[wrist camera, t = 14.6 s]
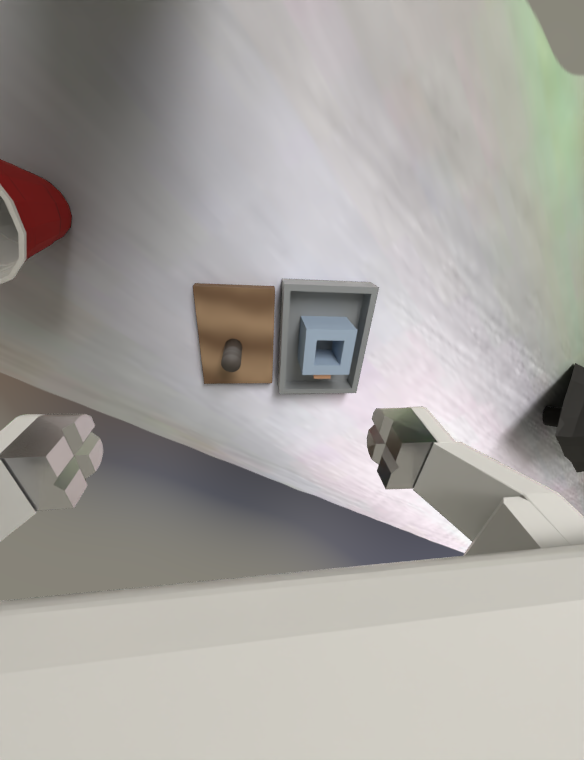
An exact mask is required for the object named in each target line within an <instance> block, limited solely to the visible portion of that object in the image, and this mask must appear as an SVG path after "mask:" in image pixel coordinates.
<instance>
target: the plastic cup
mask: <svg viewBox="0 0 584 760" xmlns="http://www.w3.org/2000/svg"><path fill="white" fill-rule="evenodd" d="M71 219H72V215H71V212H70V208H69V205H68V203H67V201H66V200H65V198H64V197H63V195H62V194H61V192H60V191H59V190H57V189H56V188H55V187H54V186H53V185H52V184H51V183H50V182H48V181H47V180H45V179H43V178H41V177H39V176H37V175H35V174H33V173H30V172H28V171H25V170H23V169H21V168H19V167H17V166H15V165H13V164H11V163H8V162H6V161H3V160H1V159H0V284H2V283H5V282H7V281H10V280H12V279H14V277H15V276H16V275H17V273H18V271H19V270H20V268H21V267H22V265H23V264H24V262H25V261H26V260H27V259H28V258H29V257H31V256H33V255H34V254H36V253H38V252H39V251H41V250H43V249H45V248H46V247H48V246H50V245H51V244H53V243H54V241H56V240H58V239H60V238H62V237H63V236H64V235H65V234H66V232H67V231H68V230H69V228H70V227H71Z"/></svg>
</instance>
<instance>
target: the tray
mask: <svg viewBox="0 0 584 760" xmlns="http://www.w3.org/2000/svg"><path fill="white" fill-rule="evenodd" d="M378 290H379V287H377V286H376V285H374V284H373V283H371V282H353V281H328V280H304V279H282V294H281V318H280V341H279V365H278V389H279V394H308V393H356V391H357V386H358V382H359V377H360V372H361V368H362V363H363V359H364V354H365V349H366V345H367V340H368V336H369V331H370V326H371V322H372V317H373V313H374V308H375V303H376V299H377V294H378ZM301 316H327V317H347V318H348V319H349V321H350V322H351V323H352V324H353V325H354V327H355V328H356V329H357V335H356V341H355V346H354V351H353V356H352V361H351V366H350V372H349V375H331V378H330V379H314V377H313V375H302V372H301V369H300V365H299V362H298V358H297V357H298V344H299V332H300V319H301ZM332 343H333V341H332V340H317V344H316V349H330V350H332Z"/></svg>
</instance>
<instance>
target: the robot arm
mask: <svg viewBox="0 0 584 760" xmlns="http://www.w3.org/2000/svg"><path fill="white" fill-rule="evenodd" d="M372 420H373V422H374V424H375V425H373V426H372V427H371V428H370V429H369V431H368V435H367V448H368V452H369V455H370V457H371V459H372V460H373V461H374V462H376V463H377V464H379V466H378V469H377V472H378V474H379V476H380V478H381V480H382V482H383V485H384V487H385V489H411V488H414V489H413V490H414V491H415V492H416V493H417V494H418V495H420V496H421V497H422V498H423V499H424V500H425V501H426V502H428V503H429V504H430V505H431V506H432V507H433V508H434V509H436V510H437V511H438V512H439V513H440V514H441V515H442V516H444V517H445V518H446V519H447V520H448V521H449V522H450V523H452V524H453V525H454V526H455V527H456V528H457V529H458V530H460V531H461V532H462V533H463V534H464V535H465V536H466V537H468V538H469V539H470V540H471V541H472V543H471V545H470V546H469V547H468V549H467V550H466V552H465V553H464V556H458V557H447V558H437V559H427V560H416V561H406V562H396V563H386V564H375V565H365V566H354V567H345V568H333V569H323V570H313V571H303V572H292V573H282V574H271V575H261V576H251V577H240V578H231V579H220V580H210V581H199V582H189V583H179V584H168V585H158V586H148V587H138V588H128V589H117V590H107V591H97V592H86V593H76V594H67V595H55V596H45V597H35V598H24V599H14V600H4V601H0V760H584V517H583V516H582V515H581V514H580V513H579V512H578V511H577V510H576V509H575V508H574V507H573V506H571V505H570V504H569V503H568V502H567V501H566V500H565V499H564V498H563V497H562V496H561V495H560V494H559V493H557V492H555V491H554V490H552V489H550V488H548V487H546V486H544V485H542V484H540V483H538V482H536V481H535V480H533V479H531V478H529V477H527V476H525V475H523V474H521V473H519V472H517V471H516V470H514V469H512V468H510V467H508V466H506V465H504V464H502V463H500V462H498V461H497V460H495V459H493V458H491V457H489V456H487V455H485V454H483V453H481V452H479V451H478V450H476V449H474V448H472V447H470V446H468V445H466V444H464V443H462V442H456V441H455V440H454V439H453V438H452V437H451V436H450V434H449V433H448V432H447V431H446V430H445V429H444V428H443V426H442V425H441V424H440V423H439V422H438V421H437V420H436V418H435V417H434V416H433V415H432V414H431V413H430V411H429V410H428V409H427V408H425V407H423V406H421V407H407V408H376V409H375V411H374V412H373V416H372ZM94 427H95V424H94V422H93V420H92V418H91V416H89V415H86V414H24V415H21V416H18V417H16V418H15V419H14V420H13V421H11V422H10V423H9V424H8V425H7V426H6V427H4V428H3V429H2V430H1V431H0V542H1V541H2V540H3V539H4V538H6V537H7V536H8V535H9V534H10V533H12V532H13V531H14V530H15V529H17V528H18V527H19V526H21V525H22V524H23V523H24V522H26V521H27V520H28V519H29V518H31V517H32V516H33V515H34V514H36V511H43V510H56V509H67V508H74V507H75V505H76V504H77V502H78V501H79V499H80V497H81V496H82V494H83V492H84V491H85V489H86V487H87V482H86V478H87V477H89V476H91V475H92V474H93V473H95V472H96V470H97V469H98V467H99V465H100V463H101V460H102V456H103V445H102V442H101V439H100V438H99V437H98V436H96V435H95V434H94V433H92V430H93V429H94Z"/></svg>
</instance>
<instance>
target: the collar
mask: <svg viewBox="0 0 584 760" xmlns="http://www.w3.org/2000/svg"><path fill="white" fill-rule="evenodd" d="M356 335H357V329H356V328H355V327H354V325H353V324H352V323H351V322H350V321H349V319H348V318H347V317H327V316H301V319H300V332H299V344H298V357H297V358H298V362H299V365H300V369H301V372H302V375H313V377H314V379H330V378H331V375H349V372H350V366H351V361H352V356H353V351H354V346H355V341H356ZM317 340H332V341H333V343H332V350H330V349H316V344H317Z"/></svg>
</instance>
